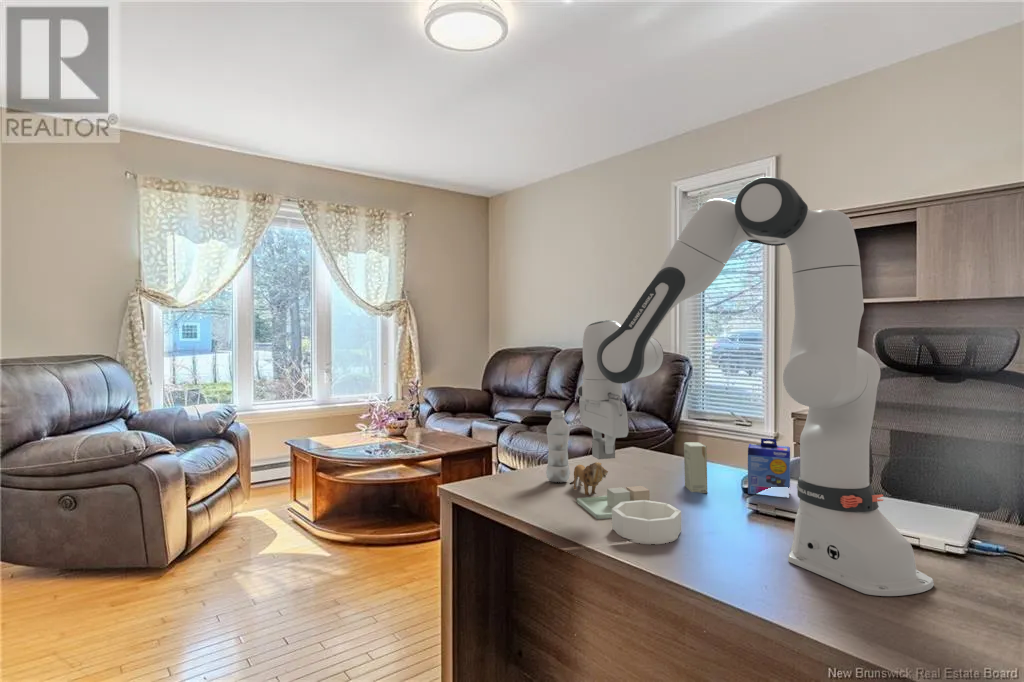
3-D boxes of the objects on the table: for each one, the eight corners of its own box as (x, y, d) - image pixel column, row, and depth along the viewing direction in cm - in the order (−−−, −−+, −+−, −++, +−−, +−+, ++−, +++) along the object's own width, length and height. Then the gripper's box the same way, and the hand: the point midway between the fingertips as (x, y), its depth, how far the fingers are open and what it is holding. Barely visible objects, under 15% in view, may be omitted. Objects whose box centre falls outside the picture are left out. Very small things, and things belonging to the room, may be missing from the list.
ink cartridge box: (747, 494, 144) (747, 438, 144) (748, 489, 149) (748, 434, 149) (790, 499, 140) (790, 440, 140) (790, 493, 145) (790, 437, 145)
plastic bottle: (554, 477, 163) (553, 408, 163) (574, 481, 159) (573, 410, 159) (541, 482, 158) (541, 411, 158) (562, 486, 154) (562, 413, 154)
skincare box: (708, 493, 145) (707, 446, 145) (691, 493, 145) (690, 446, 145) (700, 486, 152) (699, 441, 152) (683, 487, 152) (683, 441, 152)
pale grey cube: (630, 508, 132) (629, 491, 132) (614, 510, 131) (614, 493, 131) (622, 503, 136) (622, 487, 136) (607, 505, 135) (607, 488, 135)
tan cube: (649, 507, 133) (649, 490, 133) (634, 508, 133) (633, 491, 132) (641, 502, 137) (641, 485, 137) (626, 503, 136) (626, 487, 136)
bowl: (691, 540, 113) (691, 516, 113) (631, 547, 110) (631, 523, 110) (659, 519, 126) (659, 498, 126) (604, 525, 123) (604, 503, 123)
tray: (663, 514, 129) (663, 508, 129) (597, 521, 125) (597, 515, 125) (637, 498, 142) (637, 492, 142) (576, 503, 138) (576, 498, 138)
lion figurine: (610, 498, 143) (610, 462, 142) (593, 501, 140) (593, 465, 140) (577, 484, 156) (577, 452, 155) (561, 487, 153) (560, 454, 153)
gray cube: (615, 458, 129) (614, 440, 129) (598, 459, 128) (598, 441, 128) (608, 454, 133) (607, 437, 133) (592, 455, 132) (591, 438, 132)
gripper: (635, 394, 121) (636, 459, 121) (598, 386, 141) (599, 442, 141) (607, 396, 120) (608, 461, 120) (574, 388, 139) (575, 443, 140)
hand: (603, 450), depth 130 cm, fingers closed on gray cube, 4 cm apart
